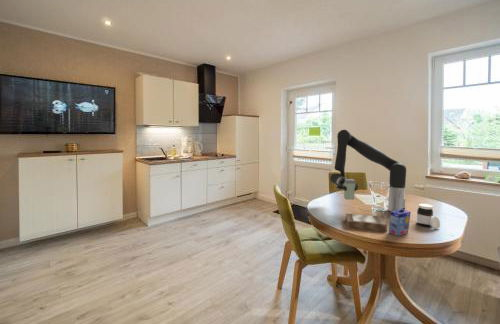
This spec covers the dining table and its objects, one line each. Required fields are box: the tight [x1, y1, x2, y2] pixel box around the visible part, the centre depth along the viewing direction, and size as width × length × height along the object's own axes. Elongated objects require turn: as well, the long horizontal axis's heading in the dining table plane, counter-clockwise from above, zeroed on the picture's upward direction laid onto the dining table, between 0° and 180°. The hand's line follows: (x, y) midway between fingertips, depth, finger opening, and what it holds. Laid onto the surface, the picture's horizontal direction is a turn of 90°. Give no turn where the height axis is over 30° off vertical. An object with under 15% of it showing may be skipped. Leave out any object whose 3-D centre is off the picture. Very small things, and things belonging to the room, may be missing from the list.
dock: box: [345, 212, 388, 232], centre depth 147 cm, size 20×14×4 cm
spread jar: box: [416, 203, 441, 230], centre depth 146 cm, size 12×11×12 cm
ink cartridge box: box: [388, 206, 411, 237], centre depth 135 cm, size 10×6×14 cm, turn 117°
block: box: [343, 178, 356, 201], centre depth 155 cm, size 5×4×12 cm
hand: (350, 189), depth 153 cm, fingers closed on block, 5 cm apart
